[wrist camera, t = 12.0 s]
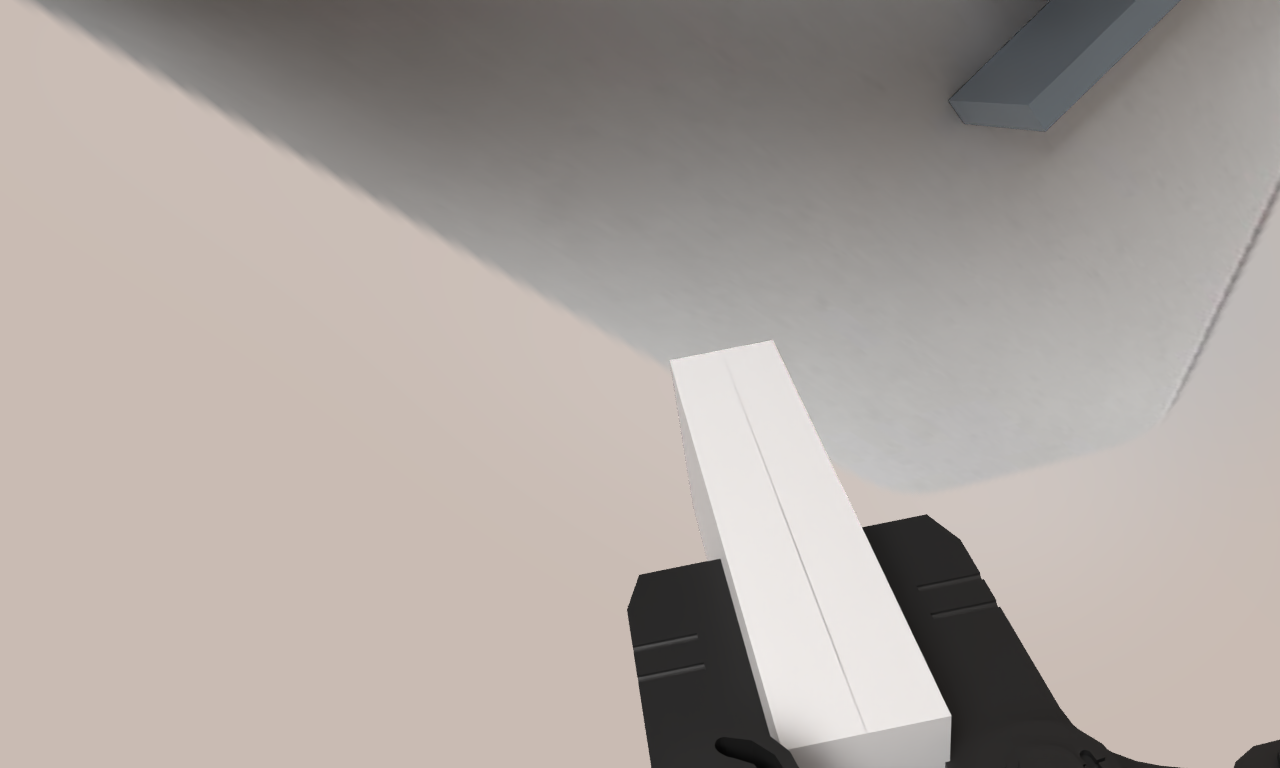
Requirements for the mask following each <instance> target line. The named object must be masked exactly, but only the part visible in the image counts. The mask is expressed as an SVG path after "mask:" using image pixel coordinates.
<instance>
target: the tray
mask: <svg viewBox="0 0 1280 768" xmlns="http://www.w3.org/2000/svg"><path fill="white" fill-rule="evenodd" d="M1179 1H1180V0H1051V1H1050V2H1049V3H1048V4H1047V5H1046V6H1045V7H1044V8H1043V9H1042V10H1041V11H1040V12H1039V13H1038V14H1037V15H1036V16H1034V17H1033V18H1032V19H1031V20H1030V21H1029V22H1028V23H1027V24H1026V25H1025V26H1024V27H1023V28H1022V29H1021V30H1020V31H1019V32H1018V33H1017V34H1016V35H1015V36H1014V37H1013V38H1012V39H1011V40H1010V41H1009V42H1008V43H1007V44H1006V45H1005V46H1004V47H1003V48H1002V49H1001V50H1000V51H999V52H998V53H997V54H995V55H994V56H993V57H992V58H991V59H990V60H989V61H988V62H987V63H986V64H985V65H984V66H983V67H982V68H981V69H980V70H979V71H978V72H977V73H976V74H975V75H974V76H973V77H972V78H971V79H970V80H969V81H968V82H967V83H966V84H965V85H964V86H963V87H962V88H961V89H960V90H959V91H957V92H956V93H955V94H954V95H953V96H952V97H951V98H950V99H949V100H948V101H949V102H950V104H951V105H952V107H953V108H954V110H955V111H956V113H957V114H958V116H959V117H960V118H961V120H962V121H963V123H964V124H971V125H981V126H992V127H1002V128H1013V129H1023V130H1034V131H1044V132H1046V131H1047V130H1048V129H1049V128H1050V127H1051V126H1052V125H1053V124H1054V123H1055V122H1056V121H1057V120H1058V119H1059V118H1060V117H1061V116H1062V115H1063V114H1064V113H1065V112H1066V111H1067V110H1068V109H1069V108H1070V107H1071V106H1072V105H1073V104H1074V103H1075V102H1076V101H1077V100H1078V99H1080V98H1081V97H1082V96H1083V95H1084V94H1085V93H1086V92H1087V91H1088V90H1089V89H1090V88H1091V87H1092V86H1093V85H1094V84H1095V83H1096V82H1097V81H1098V80H1099V79H1100V78H1101V77H1102V76H1103V75H1104V74H1105V73H1106V72H1107V71H1108V70H1109V69H1110V68H1111V67H1112V66H1114V65H1115V64H1116V63H1117V62H1118V61H1119V60H1120V59H1121V58H1122V57H1123V56H1124V55H1125V54H1126V53H1127V52H1128V51H1129V50H1130V49H1131V48H1132V47H1133V46H1134V45H1135V44H1136V43H1137V42H1138V41H1139V40H1140V39H1141V38H1142V37H1143V36H1144V35H1145V34H1146V33H1148V32H1149V31H1150V30H1151V29H1152V28H1153V27H1154V26H1155V25H1156V24H1157V23H1158V22H1159V21H1160V20H1161V19H1162V18H1163V17H1164V16H1165V15H1166V14H1167V13H1168V12H1169V11H1170V10H1171V9H1172V8H1173V7H1174V6H1175V5H1176V4H1177V3H1178V2H1179Z"/></svg>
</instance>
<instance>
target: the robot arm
mask: <svg viewBox="0 0 1280 768" xmlns="http://www.w3.org/2000/svg"><path fill="white" fill-rule="evenodd" d="M670 366H671V372H672V378H673V385H674V391H675V397H676V403H677V409H678V416H679V422H680V428H681V434H682V440H683V446H684V453H685V459H686V465H687V471H688V477H689V484H690V490H691V496H692V503H693V508H694V511H695V515H696V519H697V523H698V526H699V530H700V534H701V538H702V542H703V546H704V549H705V553H706V557H707V561H706V562H701V563H696V564H691V565H686V566H681V567H676V568H671V569H666V570H661V571H656V572H652V573H647V574H642V575H639V577H638V580H637V583H636V586H635V589H634V591H633V594H632V597H631V600H630V603H629V606H628V609H627V611H628V618H629V625H630V631H631V638H632V645H633V650H634V657H635V664H636V671H637V677H638V681H639V689H640V696H641V703H642V709H643V716H644V722H645V729H646V735H647V742H648V748H649V755H650V760H651V768H1178V767H1167V766H1159V765H1153V764H1148V763H1143V762H1138V761H1134V760H1132V759H1128V758H1126V757H1123V756H1121V755H1118V754H1115V753H1112V752H1111V751H1109V750H1107V749H1106V747H1105V746H1104V745H1103V744H1102V743H1100V742H1098V741H1097V740H1095V739H1093V738H1092V737H1090V736H1088V735H1087V734H1085V733H1083V732H1082V731H1080V730H1079V729H1077V728H1076V727H1075V726H1074V725H1073V724H1072V723H1071V722H1070V720H1069V719H1068V718H1067V716H1066V715H1065V714H1064V712H1063V711H1062V710H1061V709H1060V707H1059V706H1058V704H1057V702H1056V700H1055V699H1054V697H1053V695H1052V694H1051V692H1050V690H1049V689H1048V687H1047V685H1046V684H1045V682H1044V680H1043V679H1042V677H1041V675H1040V673H1039V672H1038V670H1037V669H1036V667H1035V665H1034V663H1033V662H1032V660H1031V658H1030V656H1029V655H1028V653H1027V652H1026V650H1025V648H1024V647H1023V645H1022V643H1021V641H1020V640H1019V638H1018V636H1017V635H1016V633H1015V631H1014V629H1013V628H1012V626H1011V624H1010V623H1009V621H1008V619H1007V618H1006V616H1005V614H1004V613H1003V611H1002V609H1001V608H1000V607H998V606H997V603H996V599H995V597H994V596H993V594H992V592H991V591H990V589H989V587H988V586H987V584H986V582H985V580H984V579H983V580H982V579H981V576H980V572H979V570H978V569H977V567H976V565H975V564H974V562H973V560H972V559H971V557H970V555H969V553H968V552H967V550H966V549H965V547H964V545H963V544H962V542H961V540H960V539H959V538H957V537H956V536H955V535H953V534H952V533H951V532H949V531H948V530H947V529H945V528H944V527H943V526H941V525H940V524H939V523H937V522H936V521H935V520H933V519H932V518H931V517H929V516H928V515H927V514H926V515H922V516H917V517H912V518H907V519H902V520H897V521H892V522H887V523H882V524H877V525H872V526H867V527H861V524H860V522H859V520H858V518H857V516H856V514H855V512H854V510H853V507H852V505H851V503H850V501H849V499H848V497H847V495H846V493H845V491H844V489H843V486H842V484H841V482H840V480H839V478H838V476H837V474H836V472H835V470H834V467H833V465H832V463H831V461H830V459H829V457H828V455H827V453H826V451H825V448H824V446H823V444H822V442H821V440H820V438H819V436H818V434H817V432H816V429H815V427H814V425H813V423H812V421H811V419H810V417H809V415H808V413H807V411H806V408H805V406H804V404H803V402H802V400H801V398H800V396H799V394H798V392H797V389H796V387H795V385H794V383H793V381H792V379H791V377H790V375H789V373H788V370H787V368H786V366H785V364H784V362H783V360H782V358H781V356H780V354H779V352H778V349H777V347H776V345H775V343H774V341H773V340H769V341H764V342H759V343H754V344H749V345H744V346H739V347H734V348H729V349H724V350H719V351H714V352H708V353H703V354H698V355H693V356H688V357H683V358H678V359H673V360H670ZM1234 768H1280V740H1277V741H1273V742H1269V743H1265V744H1261V745H1257V746H1253V747H1252V748H1251V749H1250V750H1249V751H1248V752H1247V753H1245V754H1244V755H1243V756H1242V757H1241V758H1240V759H1239V760H1237V761H1236V762H1235V766H1234Z"/></svg>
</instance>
